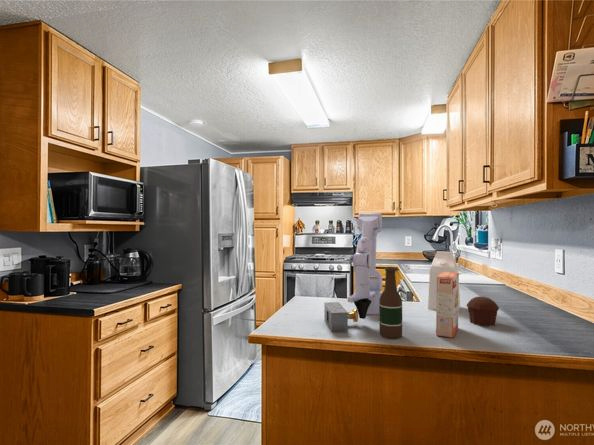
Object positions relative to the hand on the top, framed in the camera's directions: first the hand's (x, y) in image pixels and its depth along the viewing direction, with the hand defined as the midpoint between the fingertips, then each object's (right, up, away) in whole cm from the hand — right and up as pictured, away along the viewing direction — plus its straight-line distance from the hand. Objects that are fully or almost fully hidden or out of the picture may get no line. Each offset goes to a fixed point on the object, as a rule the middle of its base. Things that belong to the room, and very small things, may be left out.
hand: (362, 318), depth 134 cm
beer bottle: (+7, -3, -13) cm, 16 cm away
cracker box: (+29, -3, -10) cm, 31 cm away
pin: (-7, -1, -1) cm, 8 cm away
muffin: (+47, -2, +1) cm, 48 cm away
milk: (+42, -2, +25) cm, 49 cm away
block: (-11, -3, -1) cm, 11 cm away
